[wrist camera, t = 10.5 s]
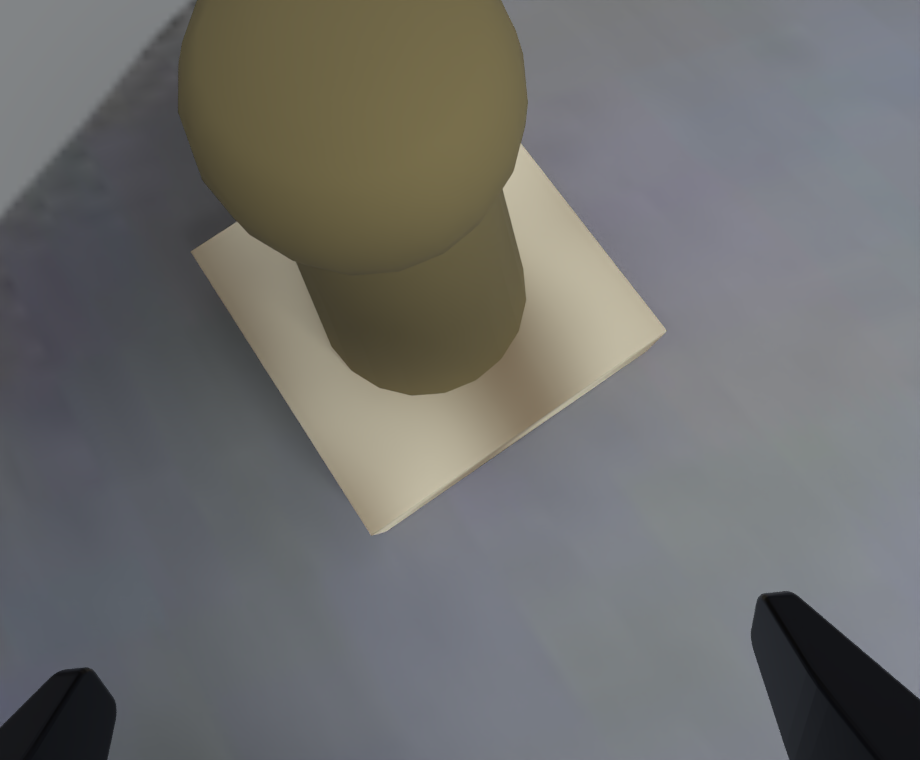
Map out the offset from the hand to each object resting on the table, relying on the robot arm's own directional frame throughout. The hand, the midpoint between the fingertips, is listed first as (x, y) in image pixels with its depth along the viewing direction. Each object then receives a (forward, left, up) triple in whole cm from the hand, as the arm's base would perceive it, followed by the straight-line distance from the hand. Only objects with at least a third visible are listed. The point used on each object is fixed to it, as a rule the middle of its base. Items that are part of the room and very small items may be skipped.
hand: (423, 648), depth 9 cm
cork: (+4, +7, -9) cm, 12 cm away
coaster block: (+4, +7, -12) cm, 14 cm away
